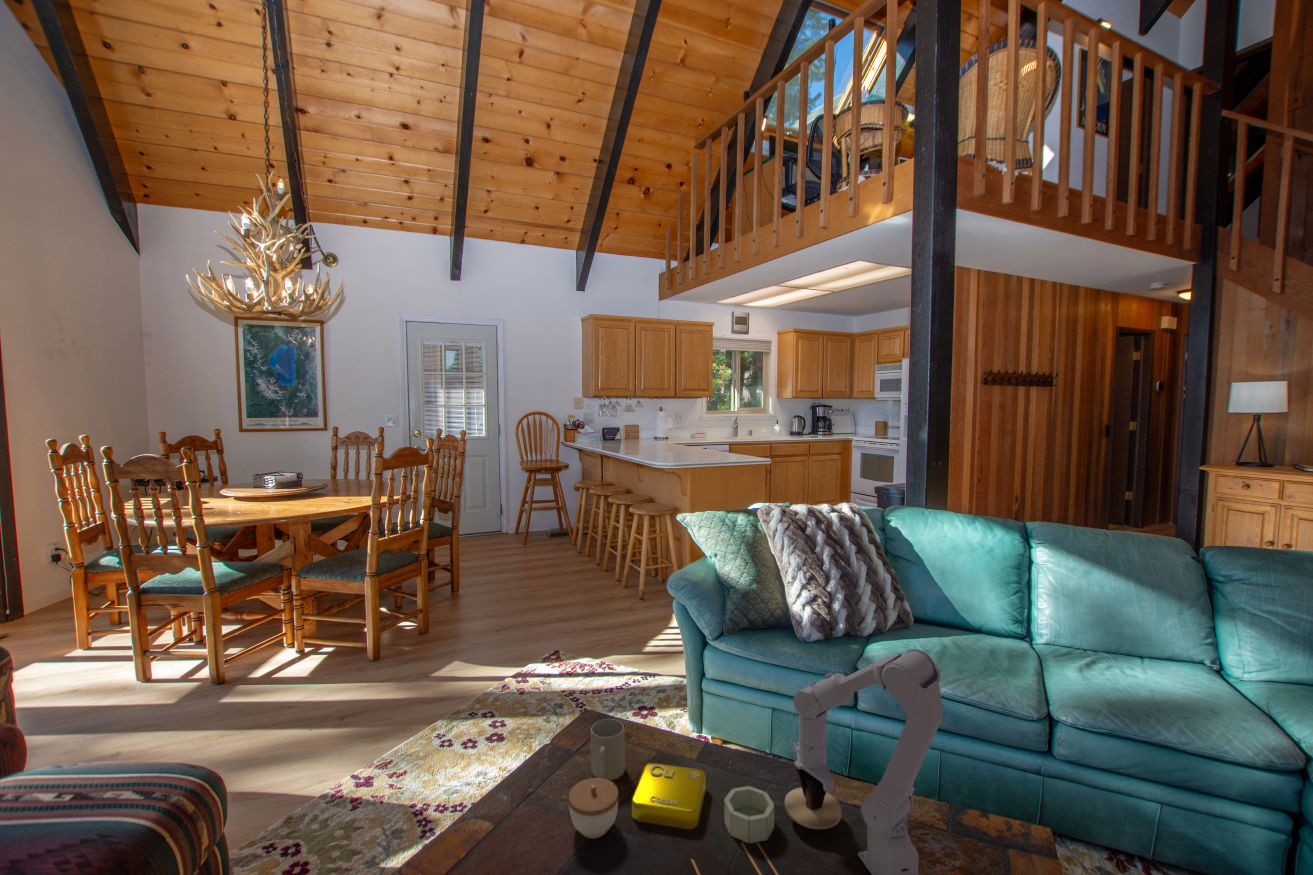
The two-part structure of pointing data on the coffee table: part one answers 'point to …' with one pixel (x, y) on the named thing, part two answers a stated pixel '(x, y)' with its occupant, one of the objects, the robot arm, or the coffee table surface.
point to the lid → (812, 810)
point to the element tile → (669, 796)
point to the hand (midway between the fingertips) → (812, 801)
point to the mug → (607, 749)
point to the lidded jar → (593, 806)
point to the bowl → (749, 814)
